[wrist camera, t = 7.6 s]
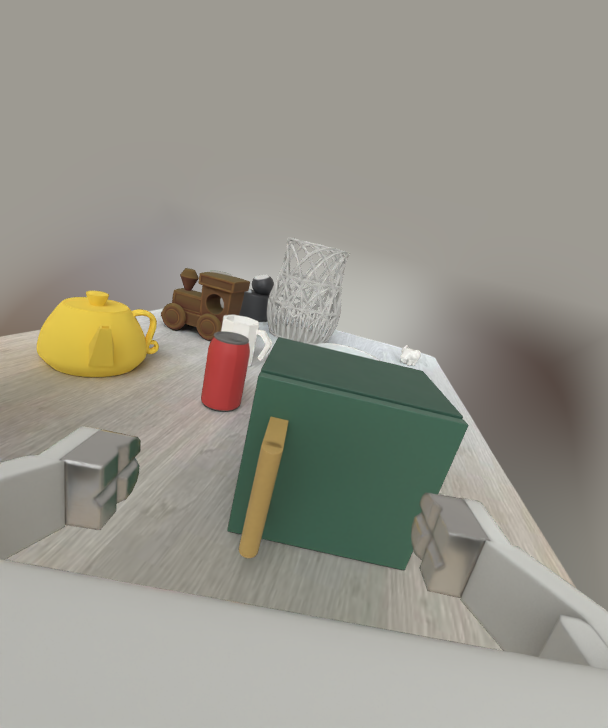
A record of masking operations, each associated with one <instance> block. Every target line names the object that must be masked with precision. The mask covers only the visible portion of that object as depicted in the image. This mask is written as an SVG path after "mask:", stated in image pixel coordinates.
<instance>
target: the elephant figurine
mask: <svg viewBox="0 0 608 728" xmlns="http://www.w3.org/2000/svg"><path fill="white" fill-rule="evenodd" d="M401 352H402V354H401V356H400V357H401V361H402V362H403V363H405V364H406V363H407V365H408V366H410V365H412V366H415V364H416V363H417V361H418V359H419V358H420V356H421V353H420V351H418V350H416V351H415V350H413V349H411V348H408V345H407V346H405V347H403V349H402V351H401Z"/></svg>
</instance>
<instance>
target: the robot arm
mask: <svg viewBox="0 0 608 728" xmlns="http://www.w3.org/2000/svg"><path fill="white" fill-rule="evenodd" d="M140 442H141V441H140V439H139V438H138V437H136V436H131V435H126V434H122V433H117V432H112V431H107V430H102V429H98V428H93V427H87V426H84V427H80V428H78V429H77V430H75V431H74V432H72V433H71V434H69V435H68V436H66V437H64V438H63V439H61V440H60V441H58V442H57V443H55V444H54V445H52V446H51V447H49V448H48V449H46V450H45V451H43V452H42V453H40V454H39V455H37V456H35V455H27V456H24V457H20V458H16V459H12V460H8V461H4V462H0V728H608V611H607V610H605V609H604V608H603V607H601V606H600V605H598V604H597V603H595V602H594V601H593V600H591V599H590V598H589V597H587V596H586V595H584V594H583V593H582V592H580V591H579V590H578V589H576V588H575V587H573V586H572V585H571V584H569V583H568V582H566V581H565V580H564V579H562V578H561V577H559V576H558V575H557V574H555V573H554V572H553V571H551V570H550V569H548V568H547V567H546V566H544V565H543V564H541V563H540V562H539V561H537V560H536V559H534V558H533V557H532V556H530V555H529V554H527V553H526V552H525V551H523V550H522V549H521V548H519V547H518V546H513V545H511V543H510V542H509V541H508V539H507V538H506V536H505V535H504V533H503V532H502V531H501V529H500V528H499V526H498V525H497V524H496V522H495V521H494V519H493V518H492V517H491V515H490V514H489V512H488V511H487V510H486V508H485V507H484V505H483V504H482V503H481V502H479V501H477V500H470V499H464V498H456V497H450V496H444V495H438V494H432V493H426V492H425V493H424V494H423V496H422V497H421V500H420V503H419V505H420V508H421V510H422V512H421V513H419V514H418V515H417V516H415V517H414V520H413V524H412V527H411V542H412V547H413V550H414V553H415V554H416V555H417V556H418V557H419V558H420V559H421V560H422V562H421V565H420V567H419V568H420V571H421V574H422V577H423V579H424V582H425V585H426V588H427V591H430V592H435V593H440V594H444V595H449V596H453V597H458V598H461V599H460V600H461V601H462V602H463V603H464V605H465V606H466V607H467V608H468V609H469V611H470V612H471V613H472V614H473V615H474V616H475V618H476V619H477V620H478V621H479V622H480V624H481V625H482V626H483V627H484V628H485V629H486V631H487V632H488V633H489V634H490V635H491V637H492V638H493V639H494V640H495V641H496V642H497V644H498V645H499V646H500V647H501V648H502V650H503V651H502V650H497V649H491V648H485V647H480V646H474V645H468V644H463V643H458V642H452V641H447V640H441V639H436V638H431V637H425V636H420V635H414V634H409V633H403V632H398V631H393V630H387V629H382V628H376V627H371V626H365V625H360V624H355V623H349V622H344V621H338V620H333V619H327V618H322V617H317V616H311V615H306V614H300V613H295V612H289V611H283V610H278V609H272V608H267V607H261V606H256V605H250V604H245V603H239V602H234V601H228V600H223V599H217V598H212V597H206V596H201V595H195V594H190V593H184V592H178V591H173V590H167V589H162V588H157V587H151V586H146V585H140V584H135V583H129V582H124V581H118V580H113V579H107V578H102V577H96V576H91V575H85V574H80V573H74V572H69V571H63V570H58V569H53V568H47V567H42V566H36V565H31V564H25V563H20V562H14V561H9V560H5V559H6V558H8V557H10V556H12V555H14V554H16V553H18V552H19V551H21V550H23V549H25V548H27V547H29V546H30V545H32V544H34V543H36V542H38V541H40V540H42V539H43V538H45V537H47V536H49V535H51V534H53V533H54V532H56V531H58V530H60V529H62V528H64V527H65V525H69V526H76V527H82V528H89V529H95V530H101V529H102V528H103V526H104V525H105V524H106V523H107V522H108V520H109V519H110V518H111V517H112V516H113V514H114V513H115V512H116V504H117V503H119V502H121V501H123V500H126V499H127V497H128V496H129V495H130V494H131V492H132V491H133V488H134V486H135V484H136V482H137V479H138V475H139V464H138V462H137V460H136V459H135V456H136V455H137V454H138V453H139V452H140Z"/></svg>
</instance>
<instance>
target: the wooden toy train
mask: <svg viewBox="0 0 608 728" xmlns="http://www.w3.org/2000/svg"><path fill="white" fill-rule="evenodd" d="M180 276H181V279H182V282H183V285H184V288H185V289H184V288H181V289H176V290H174V293H173V300H172V303H170V304H167V305H166V306H165V307H164V309H163V311H162V312H161V316H162V319H163V322H164V323H165V325H166V326H167V327H169V328H171V329H174V330H178V329H180V328H182V327H183V326H184V325H185V324H188V325H191V326H194V327H197V331H198V333H199V334H200V336H201V337H202V338H204V339H206V340H210V341H212V339H213V338H214V334H215V333H216V332H221V329H222V323H223V317H224V315H238V316H239V313H240V310H241V306H242V302H243V297H244V292H245V291H249V285H250V282H249V281H246V280H244V279H240V278H237V277H233V276H229V275H225V274H220V273H214V272H204V273H200V276H199V278H198V276H197V274H196V272H195V270H193V269H188V268H185V270H184V271H183V272H182V273H181V274H180ZM198 279H199V284H201V285H203V286H202V293H201V292H197V291H193V290H192V288H193V286H194V285H195V283H196V282H197V280H198ZM221 298H222V300H223V302H224V308H222V306H221V304H220V299H221Z"/></svg>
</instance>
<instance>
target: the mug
mask: <svg viewBox="0 0 608 728" xmlns="http://www.w3.org/2000/svg"><path fill="white" fill-rule="evenodd" d="M258 328H259V323H258V321H256V320H254V319H251V318H248V317H244V316H238V315H224V317H223V323H222V329H221V331H227V332H234V333H238V334H241V335H244V336H246V337H247V338H248V339H249V347H250V356H249V361H248V366H251V364H252V359H253V354H254V349H255V343H256V338H257V335H260V336H261V337H262V339H263V341H264V342H265V344H266V346H265V347H264V349H263V350H262V352H261V353H260V355H259V356H258V358H257V359H259V360H260V361H262V360H263V359H264V357H265V355H266V354H267V352H268V350H269V349H270V347H271V345H272V342H271V340H270V338H269V336H268V335H267V333H266V331H263V330H259V329H258Z"/></svg>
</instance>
